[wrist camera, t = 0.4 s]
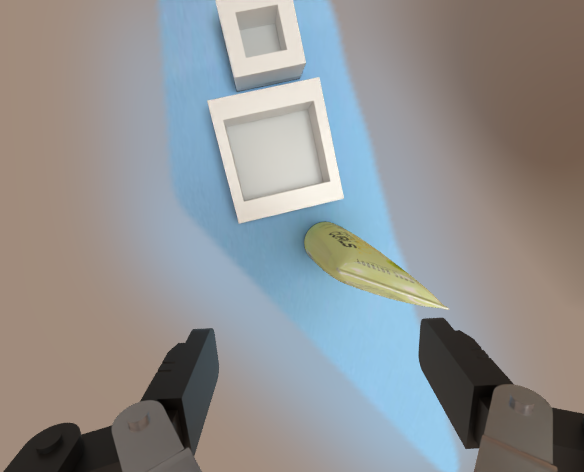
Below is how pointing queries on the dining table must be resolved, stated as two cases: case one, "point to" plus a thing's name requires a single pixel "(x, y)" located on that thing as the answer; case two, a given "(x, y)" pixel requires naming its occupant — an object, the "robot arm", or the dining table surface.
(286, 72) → the endcap
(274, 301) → the dining table surface
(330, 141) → the endcap
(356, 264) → the tube
